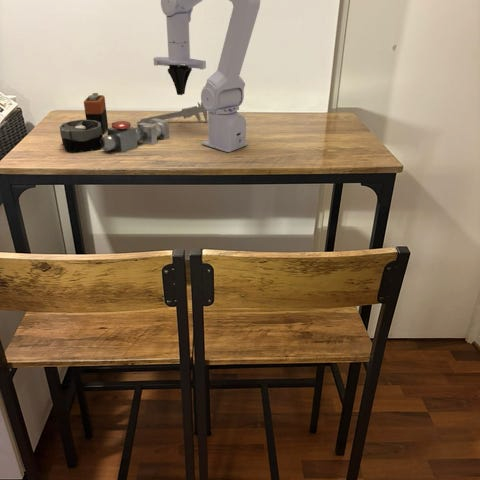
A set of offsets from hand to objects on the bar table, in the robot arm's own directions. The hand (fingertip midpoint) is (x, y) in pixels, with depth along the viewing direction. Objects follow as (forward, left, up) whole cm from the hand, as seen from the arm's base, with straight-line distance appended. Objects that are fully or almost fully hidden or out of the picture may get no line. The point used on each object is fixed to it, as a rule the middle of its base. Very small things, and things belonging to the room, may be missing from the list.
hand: (180, 94), depth 135 cm
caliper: (+6, -2, -10) cm, 12 cm away
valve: (-1, +22, -10) cm, 24 cm away
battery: (+15, +18, -10) cm, 25 cm away
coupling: (-2, +12, -10) cm, 15 cm away
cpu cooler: (+8, +28, -10) cm, 31 cm away
